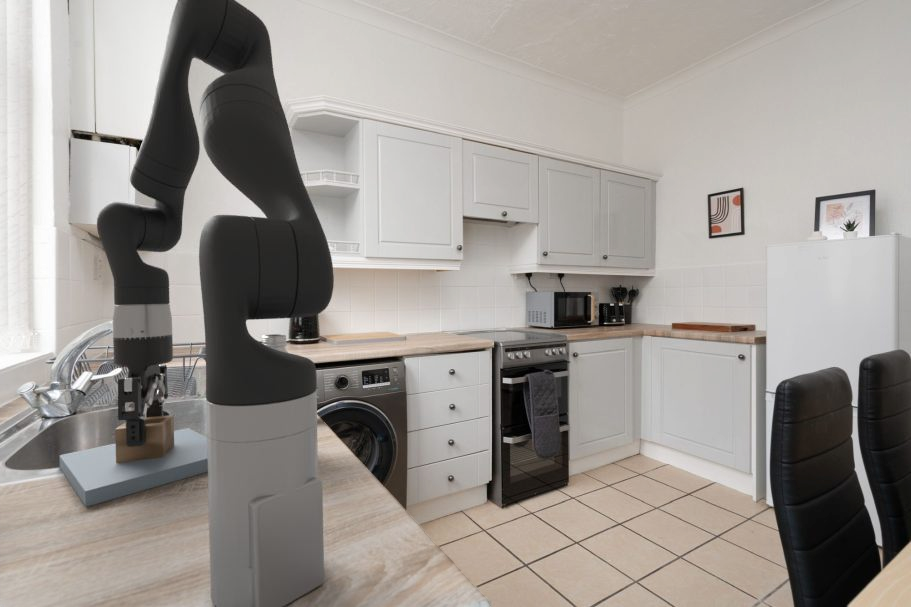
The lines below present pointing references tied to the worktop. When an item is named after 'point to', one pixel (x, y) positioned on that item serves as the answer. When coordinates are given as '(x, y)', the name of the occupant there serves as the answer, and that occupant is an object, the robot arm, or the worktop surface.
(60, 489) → the worktop surface
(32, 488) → the worktop surface
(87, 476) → the flat blue-gray panel
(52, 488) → the worktop surface
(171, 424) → the tan hollow open box
